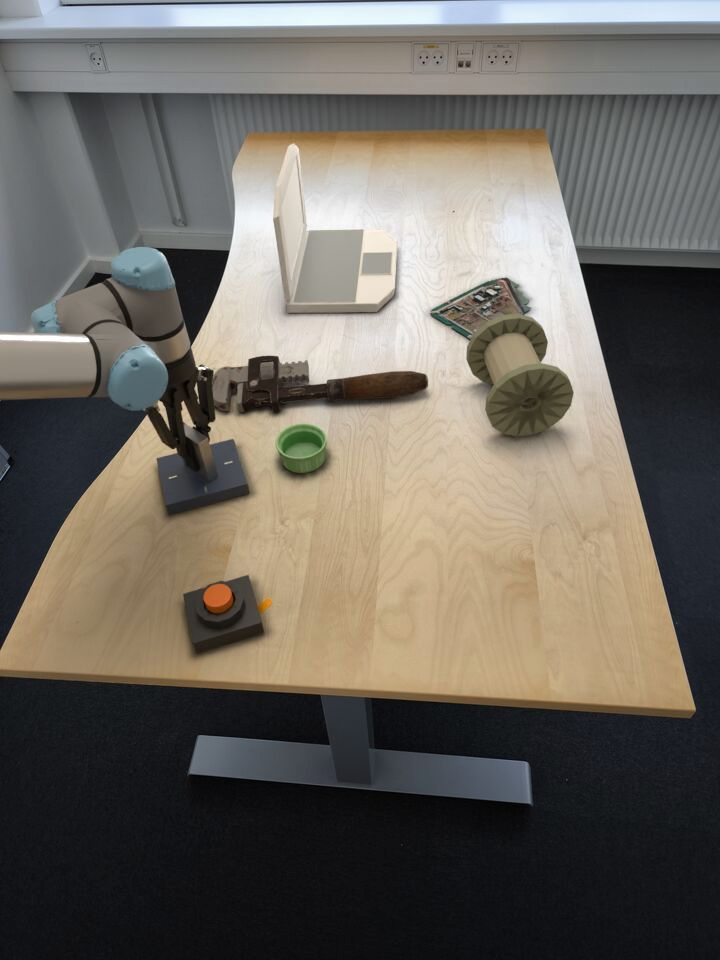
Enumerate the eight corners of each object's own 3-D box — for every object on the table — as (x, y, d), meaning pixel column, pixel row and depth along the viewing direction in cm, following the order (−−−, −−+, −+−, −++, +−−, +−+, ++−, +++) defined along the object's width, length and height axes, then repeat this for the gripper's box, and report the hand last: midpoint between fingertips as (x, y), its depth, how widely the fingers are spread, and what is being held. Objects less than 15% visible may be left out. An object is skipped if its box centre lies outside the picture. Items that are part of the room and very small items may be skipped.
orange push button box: (196, 653, 105) (189, 636, 102) (186, 603, 111) (180, 586, 108) (264, 632, 107) (259, 615, 103) (251, 585, 113) (246, 567, 109)
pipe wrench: (209, 422, 141) (203, 405, 137) (213, 374, 149) (208, 356, 145) (430, 402, 141) (430, 383, 137) (422, 354, 148) (422, 336, 144)
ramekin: (276, 445, 134) (273, 427, 131) (324, 437, 135) (322, 419, 132) (281, 479, 128) (278, 462, 125) (332, 471, 129) (330, 453, 126)
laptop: (394, 312, 162) (392, 196, 143) (286, 313, 164) (269, 199, 144) (398, 237, 185) (396, 129, 166) (303, 239, 187) (290, 132, 167)
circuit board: (500, 275, 170) (500, 271, 169) (548, 302, 162) (549, 298, 161) (427, 311, 161) (427, 307, 160) (474, 341, 153) (474, 338, 152)
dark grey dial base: (169, 515, 123) (165, 504, 122) (159, 467, 131) (156, 457, 130) (249, 493, 126) (247, 482, 124) (235, 448, 134) (233, 437, 132)
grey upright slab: (218, 476, 126) (207, 436, 119) (209, 482, 125) (198, 443, 118) (192, 458, 129) (180, 419, 122) (183, 464, 128) (171, 425, 121)
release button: (208, 617, 104) (205, 610, 103) (203, 595, 107) (201, 588, 105) (235, 609, 105) (233, 602, 104) (230, 587, 107) (228, 580, 106)
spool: (565, 430, 133) (579, 364, 122) (484, 440, 132) (491, 374, 121) (539, 375, 144) (549, 309, 134) (464, 383, 144) (469, 318, 133)
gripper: (189, 319, 114) (218, 430, 131) (108, 366, 107) (150, 477, 124) (220, 336, 110) (246, 448, 127) (139, 386, 103) (178, 498, 120)
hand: (199, 462), depth 126 cm, fingers closed on grey upright slab, 2 cm apart
